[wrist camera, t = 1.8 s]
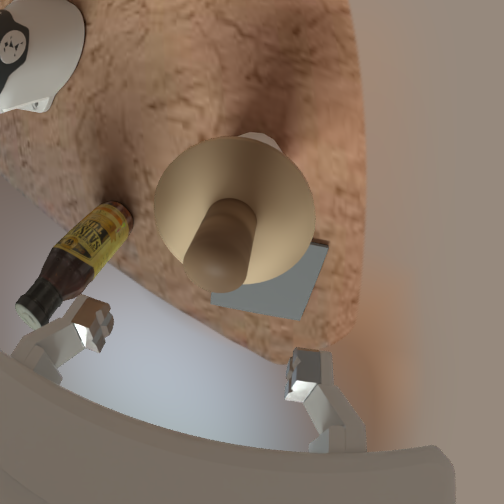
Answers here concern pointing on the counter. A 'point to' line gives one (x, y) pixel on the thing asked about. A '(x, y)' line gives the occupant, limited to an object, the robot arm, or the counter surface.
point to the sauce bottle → (75, 262)
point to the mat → (279, 289)
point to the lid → (234, 212)
